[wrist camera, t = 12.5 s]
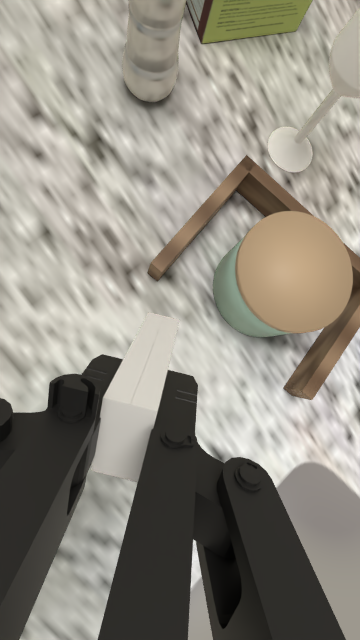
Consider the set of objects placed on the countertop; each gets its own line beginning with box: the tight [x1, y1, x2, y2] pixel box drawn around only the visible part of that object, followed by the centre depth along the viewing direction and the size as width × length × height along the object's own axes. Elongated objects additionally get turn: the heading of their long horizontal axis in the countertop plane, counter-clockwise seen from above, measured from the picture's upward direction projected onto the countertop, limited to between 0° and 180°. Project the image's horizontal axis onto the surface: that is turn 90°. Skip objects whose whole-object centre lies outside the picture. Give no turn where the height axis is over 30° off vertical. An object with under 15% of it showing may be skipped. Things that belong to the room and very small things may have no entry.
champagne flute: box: [268, 8, 360, 172], centre depth 31 cm, size 7×7×24 cm
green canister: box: [213, 211, 353, 337], centre depth 35 cm, size 12×12×9 cm
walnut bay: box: [148, 155, 360, 400], centre depth 37 cm, size 18×23×4 cm
